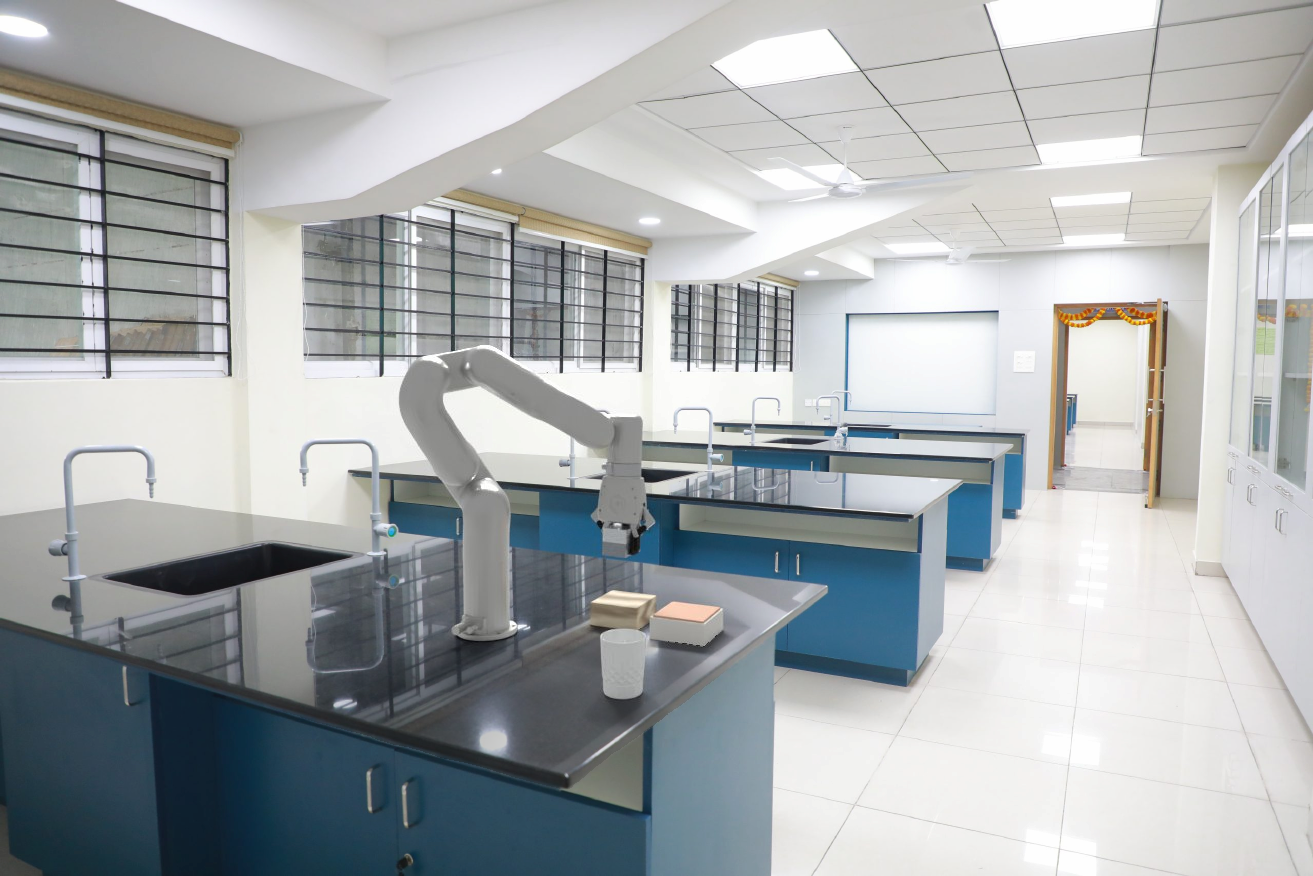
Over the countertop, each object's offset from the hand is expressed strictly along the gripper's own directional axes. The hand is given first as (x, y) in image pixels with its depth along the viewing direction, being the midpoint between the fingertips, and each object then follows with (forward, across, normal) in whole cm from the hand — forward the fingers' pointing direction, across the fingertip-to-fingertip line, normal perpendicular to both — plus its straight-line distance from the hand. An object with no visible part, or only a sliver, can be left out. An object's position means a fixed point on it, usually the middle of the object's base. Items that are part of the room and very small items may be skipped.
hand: (621, 551), depth 183 cm
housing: (0, 0, 0) cm, 0 cm away
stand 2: (+15, +17, -2) cm, 23 cm away
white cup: (+16, +18, -36) cm, 44 cm away
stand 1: (+16, +1, +1) cm, 16 cm away
